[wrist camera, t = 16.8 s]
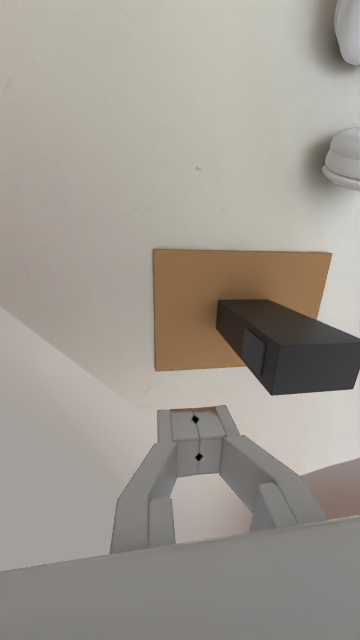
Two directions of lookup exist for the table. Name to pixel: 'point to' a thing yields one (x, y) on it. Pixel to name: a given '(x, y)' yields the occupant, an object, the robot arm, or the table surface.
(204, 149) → the table surface
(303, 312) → the mat
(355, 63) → the headphones
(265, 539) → the robot arm
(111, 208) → the table surface
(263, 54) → the table surface
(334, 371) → the device
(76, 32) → the table surface
